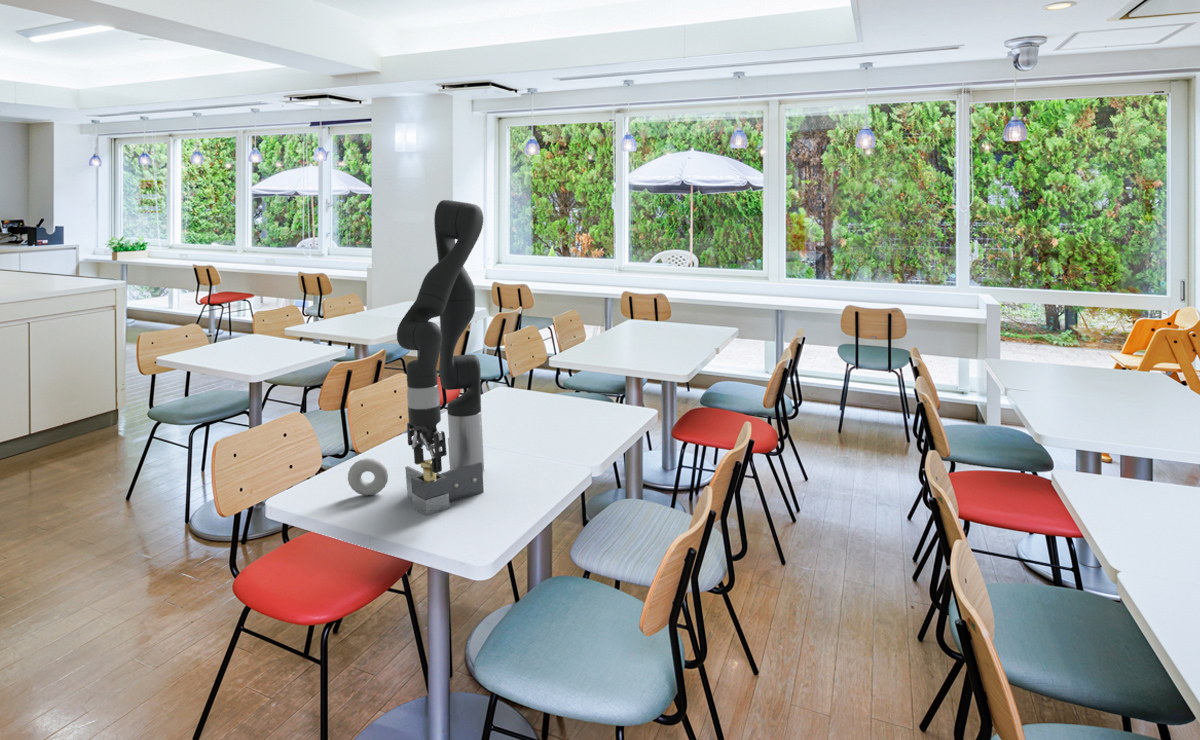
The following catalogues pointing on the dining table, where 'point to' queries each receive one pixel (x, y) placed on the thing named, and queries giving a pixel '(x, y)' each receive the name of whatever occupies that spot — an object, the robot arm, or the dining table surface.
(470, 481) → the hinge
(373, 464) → the donut
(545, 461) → the dining table surface
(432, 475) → the pin
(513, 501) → the dining table surface
